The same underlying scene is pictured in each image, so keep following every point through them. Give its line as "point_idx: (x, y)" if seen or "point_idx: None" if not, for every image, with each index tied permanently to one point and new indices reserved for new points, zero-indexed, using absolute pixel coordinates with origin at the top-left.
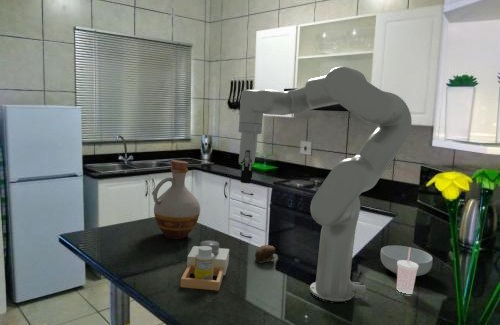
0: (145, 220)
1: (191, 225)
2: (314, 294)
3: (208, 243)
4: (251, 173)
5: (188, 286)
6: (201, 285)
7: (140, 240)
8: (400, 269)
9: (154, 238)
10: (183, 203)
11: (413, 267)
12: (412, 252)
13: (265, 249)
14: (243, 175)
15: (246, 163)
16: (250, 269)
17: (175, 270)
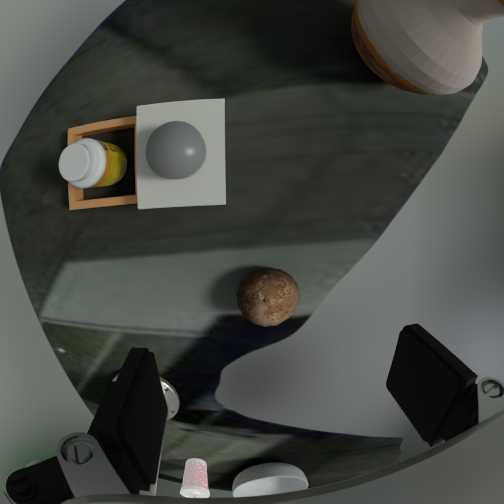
0: None
1: (384, 77)
2: (118, 374)
3: (174, 145)
4: (403, 406)
5: None
6: None
7: None
8: (187, 483)
9: (347, 14)
10: (401, 25)
11: (182, 494)
12: (295, 490)
13: (251, 304)
14: (99, 407)
15: (7, 502)
16: (202, 259)
17: (151, 90)
